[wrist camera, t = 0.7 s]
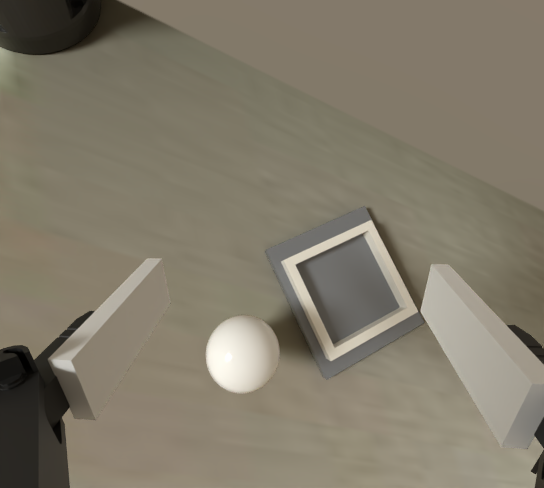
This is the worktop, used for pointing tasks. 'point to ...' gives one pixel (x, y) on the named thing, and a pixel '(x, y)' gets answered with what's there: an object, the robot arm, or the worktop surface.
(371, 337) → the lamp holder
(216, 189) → the worktop surface
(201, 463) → the worktop surface
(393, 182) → the worktop surface
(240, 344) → the lightbulb
